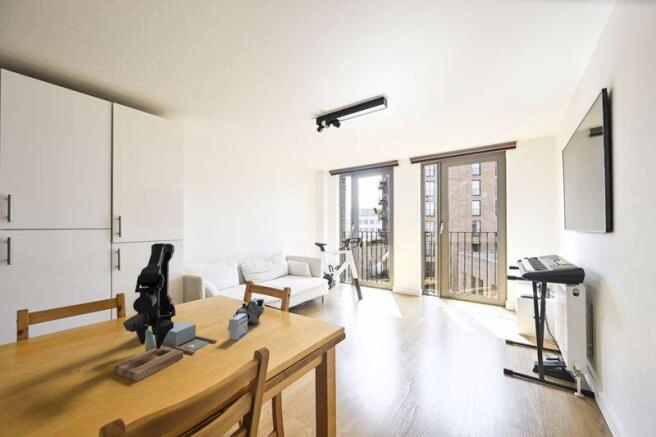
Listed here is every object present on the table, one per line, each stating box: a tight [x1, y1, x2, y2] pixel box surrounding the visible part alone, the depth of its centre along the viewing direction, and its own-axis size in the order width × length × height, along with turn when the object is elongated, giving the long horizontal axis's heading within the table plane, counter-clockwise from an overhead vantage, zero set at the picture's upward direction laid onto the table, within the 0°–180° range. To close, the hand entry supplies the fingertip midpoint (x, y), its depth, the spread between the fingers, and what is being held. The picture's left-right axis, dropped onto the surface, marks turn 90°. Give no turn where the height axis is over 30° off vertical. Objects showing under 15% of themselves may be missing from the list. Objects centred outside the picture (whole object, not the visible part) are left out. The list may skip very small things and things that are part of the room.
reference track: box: [162, 334, 217, 355], centre depth 112 cm, size 20×11×1 cm, turn 66°
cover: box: [163, 320, 197, 347], centre depth 114 cm, size 9×9×6 cm
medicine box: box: [228, 313, 248, 341], centre depth 119 cm, size 8×4×9 cm, turn 168°
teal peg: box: [144, 328, 156, 352], centre depth 103 cm, size 3×3×9 cm
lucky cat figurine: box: [232, 297, 266, 326], centre depth 136 cm, size 15×12×14 cm
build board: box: [113, 345, 184, 382], centre depth 95 cm, size 12×16×2 cm
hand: (150, 346), depth 103 cm, fingers open, 9 cm apart
